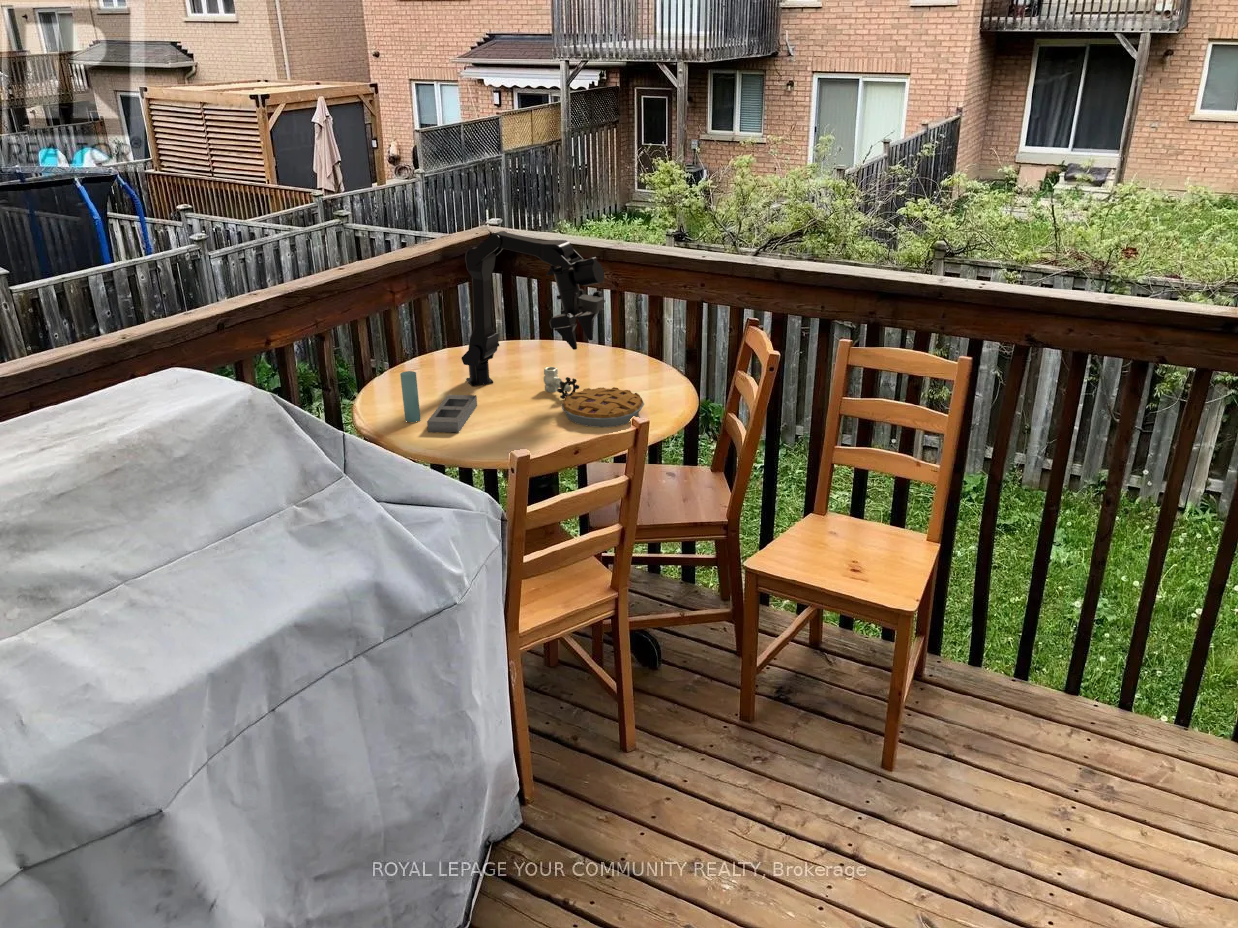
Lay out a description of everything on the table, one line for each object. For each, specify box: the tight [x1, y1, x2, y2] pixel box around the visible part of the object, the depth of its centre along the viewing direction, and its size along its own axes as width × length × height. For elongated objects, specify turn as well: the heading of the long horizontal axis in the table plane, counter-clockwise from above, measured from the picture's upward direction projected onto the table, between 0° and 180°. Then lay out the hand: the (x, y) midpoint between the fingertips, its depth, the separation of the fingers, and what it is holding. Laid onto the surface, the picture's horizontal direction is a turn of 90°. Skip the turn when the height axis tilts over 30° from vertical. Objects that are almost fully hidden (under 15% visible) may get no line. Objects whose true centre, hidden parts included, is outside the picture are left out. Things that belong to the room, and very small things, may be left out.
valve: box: [543, 366, 580, 400], centre depth 280 cm, size 7×7×12 cm
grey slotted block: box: [426, 394, 478, 434], centre depth 264 cm, size 20×8×3 cm, turn 174°
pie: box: [560, 386, 645, 428], centre depth 265 cm, size 22×22×5 cm
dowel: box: [400, 370, 422, 423], centre depth 261 cm, size 4×4×13 cm
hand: (583, 344), depth 271 cm, fingers open, 9 cm apart
